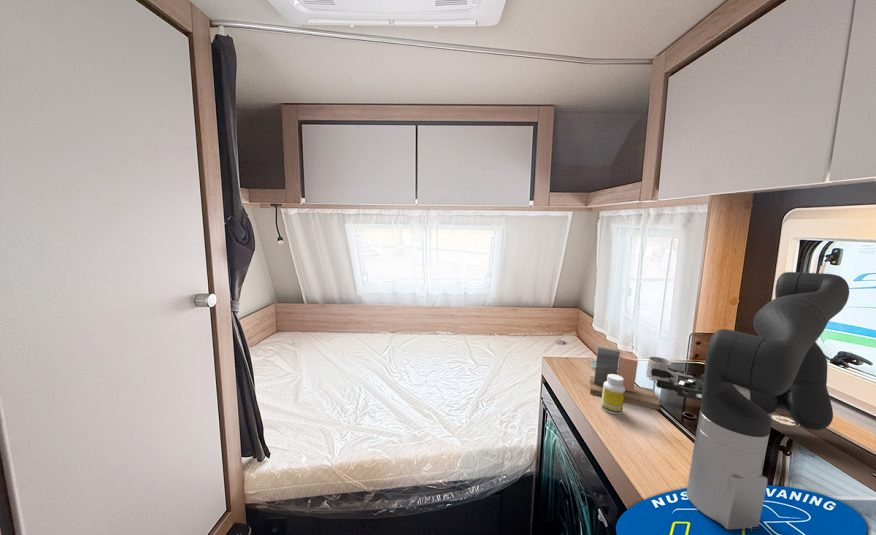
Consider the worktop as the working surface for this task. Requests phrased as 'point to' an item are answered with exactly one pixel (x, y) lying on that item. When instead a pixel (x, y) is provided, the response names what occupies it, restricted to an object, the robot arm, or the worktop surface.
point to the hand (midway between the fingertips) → (654, 377)
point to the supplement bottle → (613, 394)
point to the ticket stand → (609, 365)
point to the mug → (657, 367)
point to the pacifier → (593, 364)
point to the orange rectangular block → (628, 372)
